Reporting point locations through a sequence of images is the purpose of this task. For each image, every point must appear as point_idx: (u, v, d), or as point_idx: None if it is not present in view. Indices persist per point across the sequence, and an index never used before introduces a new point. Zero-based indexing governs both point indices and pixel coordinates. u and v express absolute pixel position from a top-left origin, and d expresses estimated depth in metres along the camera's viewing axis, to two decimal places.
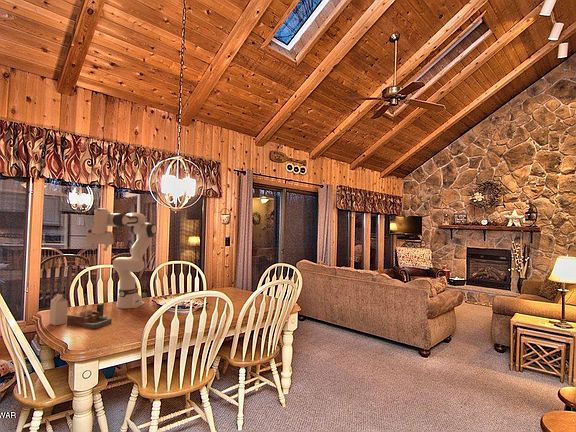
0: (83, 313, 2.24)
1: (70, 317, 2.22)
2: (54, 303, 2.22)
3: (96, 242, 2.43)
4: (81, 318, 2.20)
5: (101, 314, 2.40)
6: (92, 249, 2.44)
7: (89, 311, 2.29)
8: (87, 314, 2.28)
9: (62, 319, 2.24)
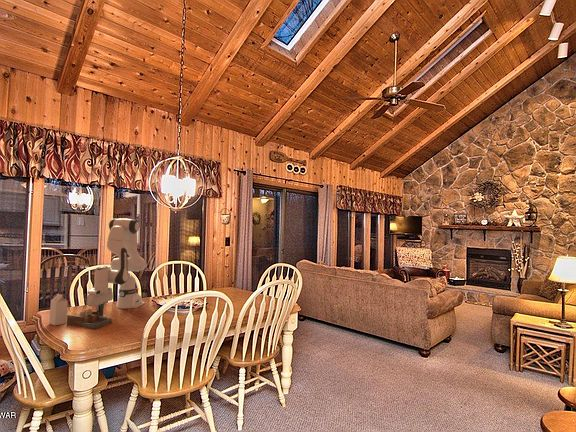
0: (83, 313, 2.24)
1: (70, 317, 2.22)
2: (54, 303, 2.22)
3: (101, 302, 2.39)
4: (81, 318, 2.20)
5: (101, 314, 2.40)
6: (98, 309, 2.38)
7: (89, 311, 2.29)
8: (87, 314, 2.28)
9: (62, 319, 2.24)
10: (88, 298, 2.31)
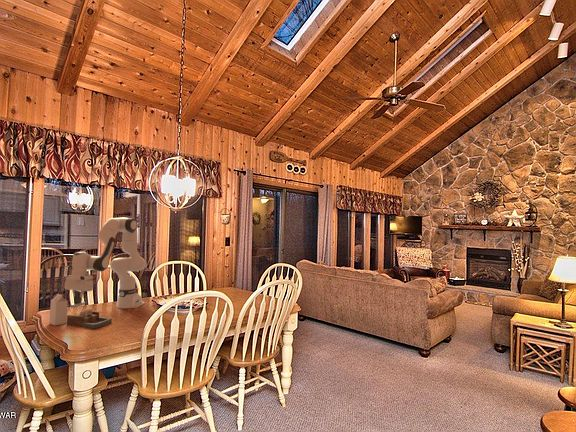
0: (83, 313, 2.24)
1: (70, 317, 2.22)
2: (54, 303, 2.22)
3: None
4: (81, 318, 2.20)
5: None
6: None
7: (89, 311, 2.29)
8: (87, 314, 2.28)
9: (62, 319, 2.24)
10: (89, 283, 2.26)
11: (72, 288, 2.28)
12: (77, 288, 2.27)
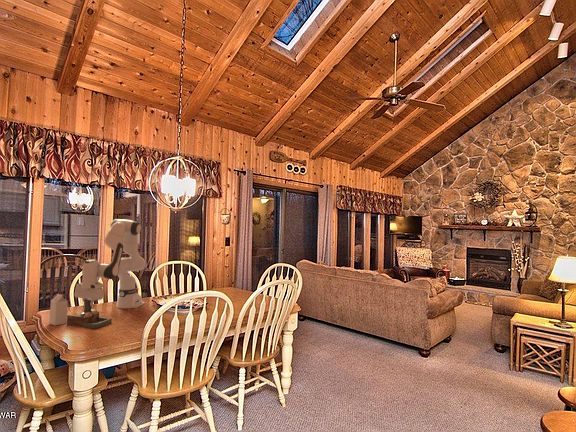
0: (86, 317, 2.23)
1: (70, 317, 2.22)
2: (54, 303, 2.22)
3: None
4: (81, 318, 2.20)
5: None
6: (92, 304, 2.27)
7: (93, 315, 2.28)
8: (91, 312, 2.28)
9: (62, 319, 2.24)
10: (100, 292, 2.24)
11: (82, 296, 2.26)
12: (87, 296, 2.25)
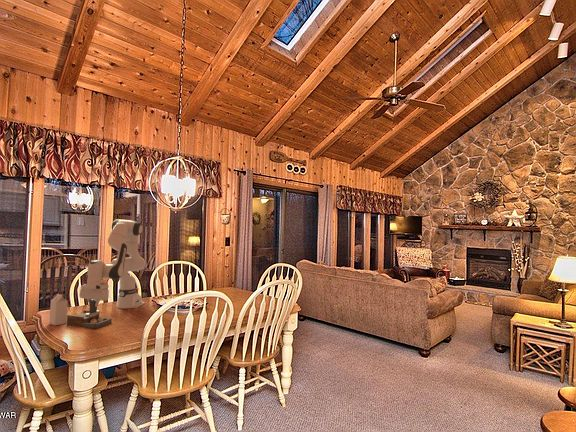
0: (92, 320, 2.21)
1: (70, 317, 2.22)
2: (54, 303, 2.22)
3: None
4: (81, 318, 2.20)
5: None
6: (97, 305, 2.26)
7: (99, 318, 2.27)
8: (100, 321, 2.26)
9: (62, 319, 2.24)
10: (105, 292, 2.23)
11: (87, 297, 2.25)
12: (92, 297, 2.24)
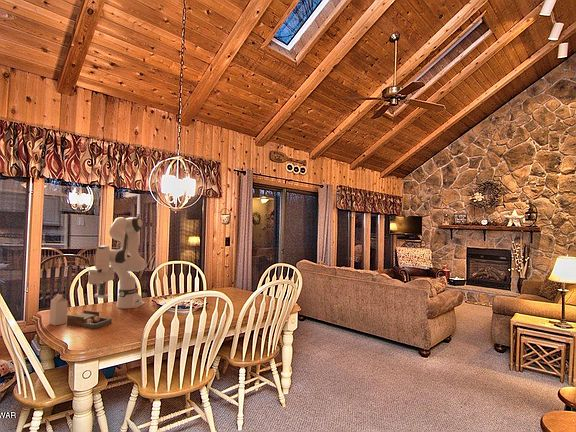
0: None
1: (70, 317, 2.22)
2: (54, 303, 2.22)
3: (102, 281, 2.39)
4: (81, 318, 2.20)
5: (103, 293, 2.40)
6: (99, 288, 2.38)
7: (93, 319, 2.28)
8: (95, 318, 2.27)
9: (62, 319, 2.24)
10: (90, 276, 2.31)
11: None
12: None
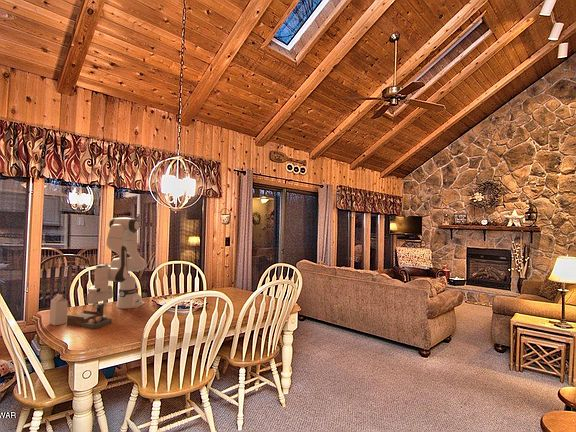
0: (88, 320, 2.22)
1: (70, 317, 2.22)
2: (54, 303, 2.22)
3: (101, 300, 2.39)
4: (81, 318, 2.20)
5: (101, 314, 2.40)
6: (96, 308, 2.36)
7: (95, 318, 2.28)
8: (97, 319, 2.27)
9: (62, 319, 2.24)
10: (88, 296, 2.31)
11: None
12: None
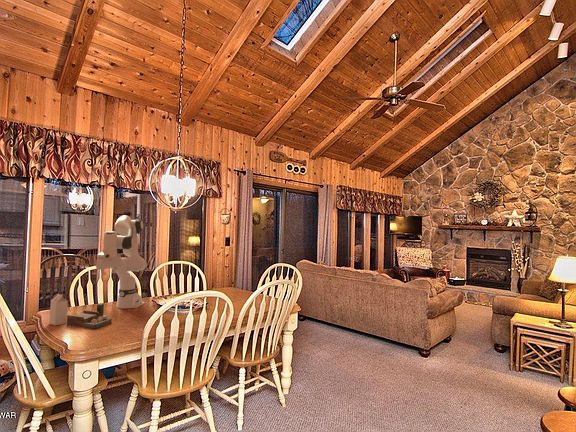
0: (93, 320, 2.21)
1: (70, 317, 2.22)
2: (54, 303, 2.22)
3: (110, 266, 2.39)
4: (81, 318, 2.20)
5: (101, 314, 2.40)
6: (104, 274, 2.35)
7: (98, 318, 2.27)
8: (99, 320, 2.26)
9: (62, 319, 2.24)
10: (97, 261, 2.31)
11: None
12: None
